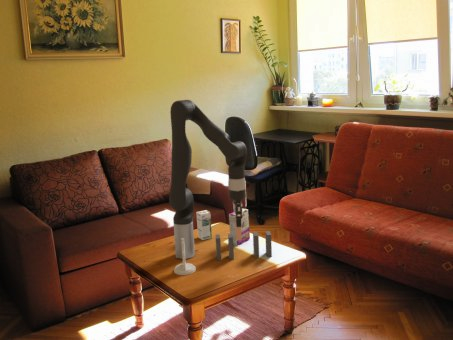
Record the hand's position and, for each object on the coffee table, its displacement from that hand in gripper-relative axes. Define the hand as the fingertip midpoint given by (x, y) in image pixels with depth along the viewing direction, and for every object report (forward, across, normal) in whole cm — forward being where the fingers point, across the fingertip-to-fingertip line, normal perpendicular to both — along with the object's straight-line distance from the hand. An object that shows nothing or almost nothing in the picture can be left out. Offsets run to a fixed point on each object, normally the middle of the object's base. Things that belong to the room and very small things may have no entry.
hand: (238, 224), depth 210 cm
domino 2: (+21, -12, -3) cm, 24 cm away
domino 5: (+20, -12, +15) cm, 28 cm away
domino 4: (+21, -12, +9) cm, 26 cm away
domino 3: (+6, 0, 0) cm, 6 cm away
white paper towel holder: (+21, -1, -25) cm, 33 cm away
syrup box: (+21, -40, -15) cm, 48 cm away
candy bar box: (+21, -31, +3) cm, 38 cm away
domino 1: (+21, -12, -9) cm, 26 cm away
